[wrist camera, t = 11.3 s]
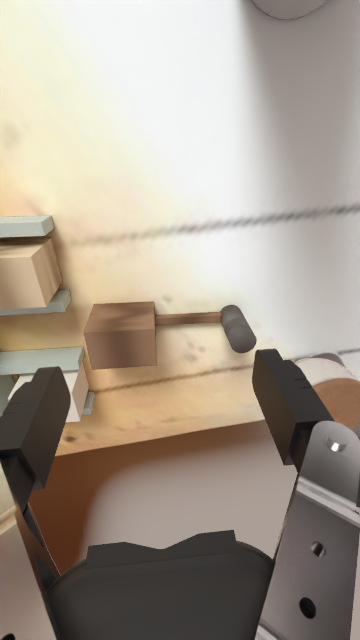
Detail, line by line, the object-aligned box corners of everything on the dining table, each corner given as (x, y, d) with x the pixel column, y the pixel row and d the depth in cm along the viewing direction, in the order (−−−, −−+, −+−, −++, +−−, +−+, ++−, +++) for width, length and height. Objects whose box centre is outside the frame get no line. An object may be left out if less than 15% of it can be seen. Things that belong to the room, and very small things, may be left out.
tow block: (243, 297, 34) (259, 323, 29) (238, 330, 37) (253, 359, 32) (93, 304, 33) (83, 332, 28) (100, 337, 35) (91, 369, 30)
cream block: (82, 359, 37) (71, 393, 32) (88, 386, 39) (80, 421, 34) (27, 363, 36) (7, 398, 31) (37, 390, 39) (20, 426, 34)
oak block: (51, 237, 28) (30, 256, 23) (62, 281, 31) (46, 306, 26) (-21, 240, 28) (-58, 260, 23) (-3, 284, 30) (-34, 311, 25)
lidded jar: (275, 346, 39) (308, 397, 31) (348, 342, 40) (398, 391, 32) (262, 400, 44) (287, 455, 36) (326, 396, 45) (364, 449, 37)
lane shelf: (51, 215, 27) (18, 236, 20) (95, 397, 40) (84, 447, 34) (-71, 218, 26) (-147, 243, 20) (14, 403, 40) (-14, 456, 33)
